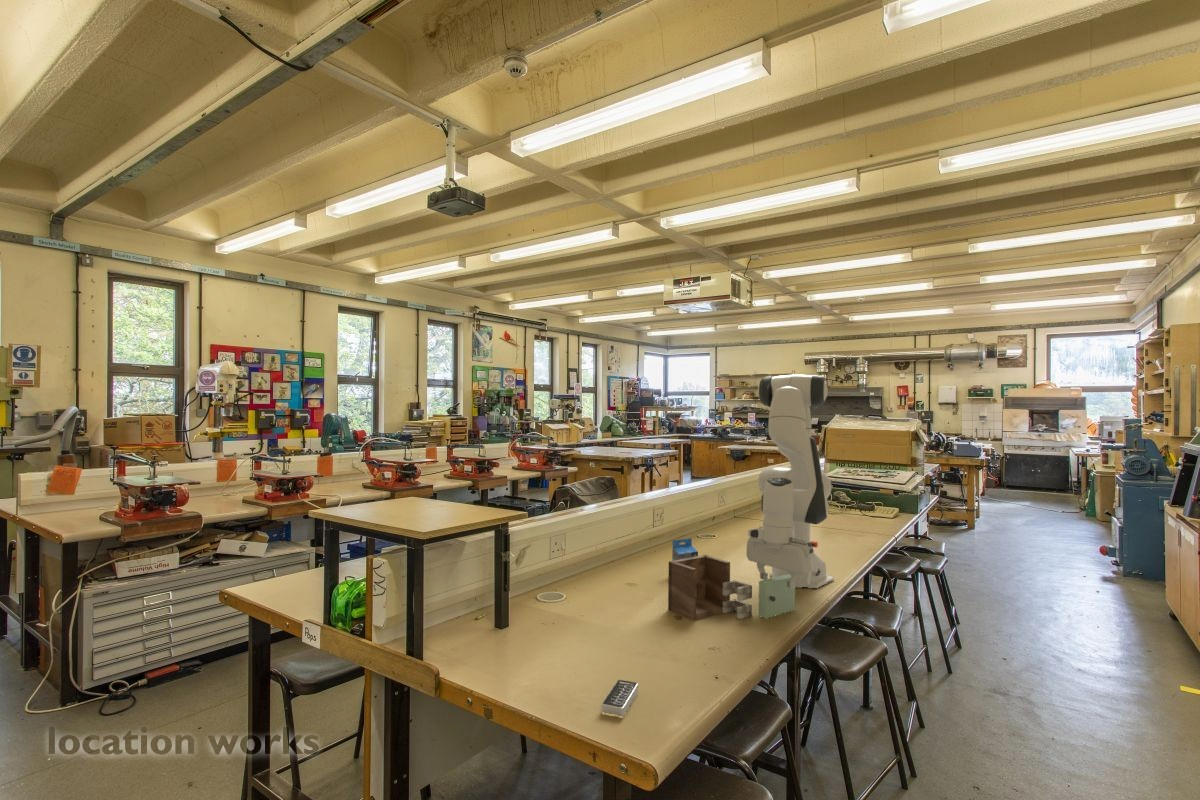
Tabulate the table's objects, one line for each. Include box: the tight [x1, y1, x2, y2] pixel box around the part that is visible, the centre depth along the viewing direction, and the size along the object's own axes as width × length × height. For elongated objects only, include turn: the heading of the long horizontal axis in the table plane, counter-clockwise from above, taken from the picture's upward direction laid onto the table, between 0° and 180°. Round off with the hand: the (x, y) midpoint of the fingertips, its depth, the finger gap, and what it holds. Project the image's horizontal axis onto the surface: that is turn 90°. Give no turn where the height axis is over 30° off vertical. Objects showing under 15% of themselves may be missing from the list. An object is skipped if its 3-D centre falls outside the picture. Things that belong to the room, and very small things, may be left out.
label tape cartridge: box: [671, 537, 699, 561], centre depth 202 cm, size 9×4×12 cm, turn 120°
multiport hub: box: [600, 679, 639, 717], centre depth 112 cm, size 4×11×2 cm, turn 161°
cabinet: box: [667, 554, 753, 621], centre depth 164 cm, size 17×16×14 cm
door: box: [758, 574, 796, 619], centre depth 164 cm, size 13×4×10 cm, turn 125°
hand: (776, 583), depth 164 cm, fingers open, 8 cm apart
